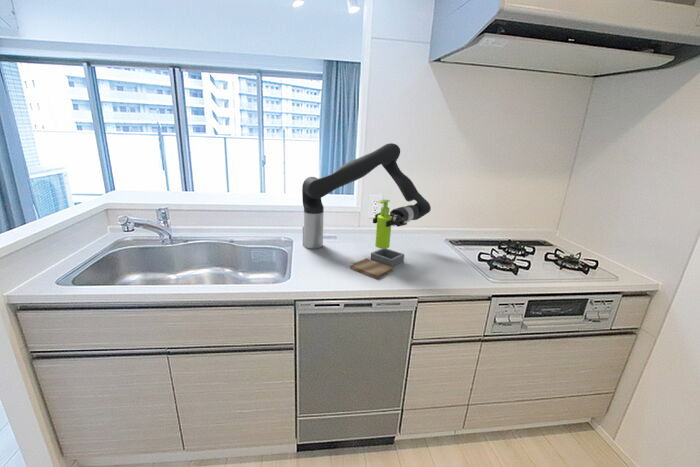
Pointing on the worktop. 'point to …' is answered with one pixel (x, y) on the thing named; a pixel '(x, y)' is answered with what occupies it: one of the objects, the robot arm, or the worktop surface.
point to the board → (371, 268)
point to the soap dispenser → (383, 227)
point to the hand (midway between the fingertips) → (380, 222)
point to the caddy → (387, 257)
